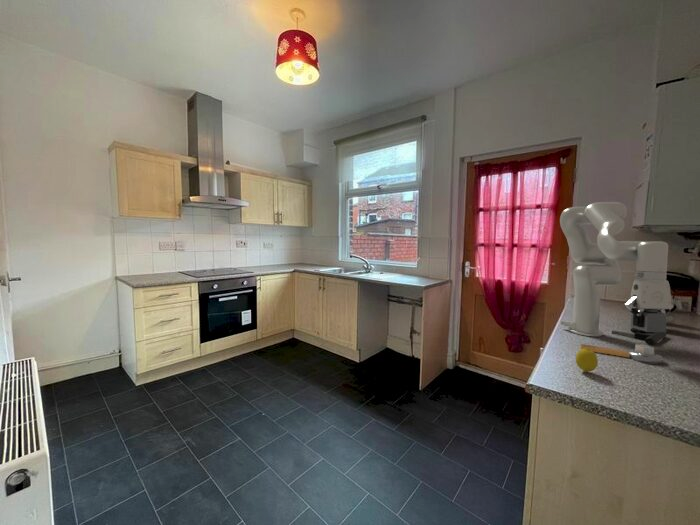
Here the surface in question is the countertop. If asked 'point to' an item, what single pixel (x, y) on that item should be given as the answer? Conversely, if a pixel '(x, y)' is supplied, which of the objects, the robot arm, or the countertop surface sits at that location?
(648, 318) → the socket
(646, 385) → the countertop surface
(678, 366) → the countertop surface
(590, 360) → the lemon
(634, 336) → the door handle
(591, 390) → the countertop surface
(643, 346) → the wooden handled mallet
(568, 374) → the countertop surface
